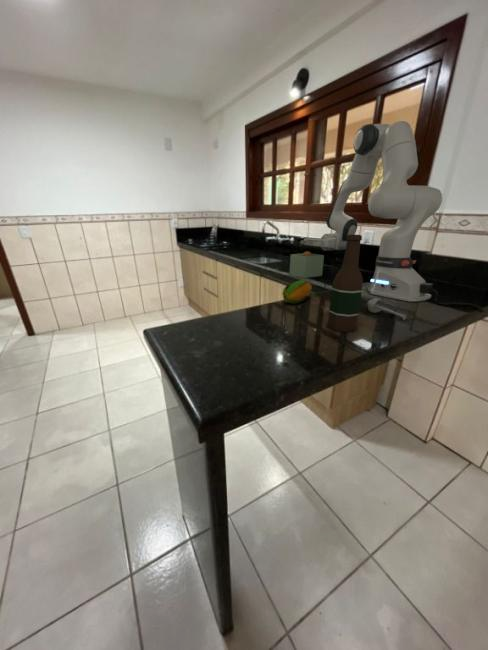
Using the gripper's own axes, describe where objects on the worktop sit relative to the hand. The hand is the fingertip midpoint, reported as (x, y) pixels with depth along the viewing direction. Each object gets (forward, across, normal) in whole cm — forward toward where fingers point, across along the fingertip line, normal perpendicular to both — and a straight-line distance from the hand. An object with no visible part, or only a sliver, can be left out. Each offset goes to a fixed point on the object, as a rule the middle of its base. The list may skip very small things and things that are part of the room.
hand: (306, 242), depth 137 cm
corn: (+31, +41, +17) cm, 54 cm away
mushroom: (+15, +65, +17) cm, 69 cm away
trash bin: (-1, 0, +17) cm, 17 cm away
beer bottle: (+35, +68, +18) cm, 79 cm away
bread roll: (-1, 0, +16) cm, 16 cm away
